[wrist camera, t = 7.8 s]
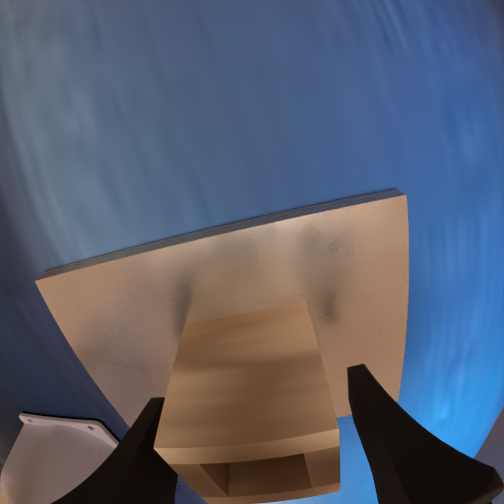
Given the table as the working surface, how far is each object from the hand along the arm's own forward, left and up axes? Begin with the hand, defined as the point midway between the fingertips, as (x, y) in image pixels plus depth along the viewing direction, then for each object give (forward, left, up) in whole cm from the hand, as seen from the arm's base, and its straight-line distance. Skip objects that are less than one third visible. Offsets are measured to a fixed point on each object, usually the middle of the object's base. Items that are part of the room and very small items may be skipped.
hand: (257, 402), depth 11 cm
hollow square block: (0, 0, -2) cm, 3 cm away
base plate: (-1, 0, -3) cm, 4 cm away
